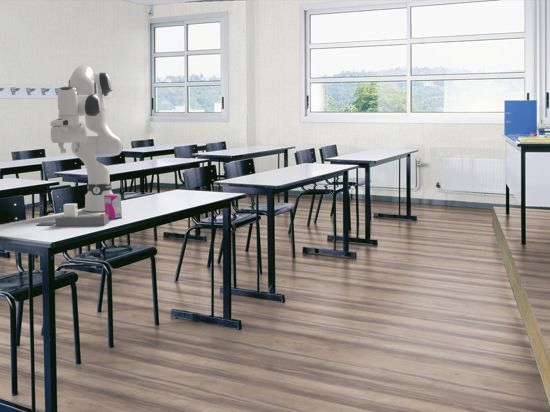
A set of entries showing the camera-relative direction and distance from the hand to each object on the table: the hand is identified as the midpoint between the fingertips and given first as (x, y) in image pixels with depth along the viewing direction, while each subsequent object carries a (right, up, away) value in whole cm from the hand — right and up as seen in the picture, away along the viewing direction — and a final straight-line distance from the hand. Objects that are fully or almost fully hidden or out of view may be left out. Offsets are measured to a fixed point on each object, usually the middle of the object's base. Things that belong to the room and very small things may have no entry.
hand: (70, 152), depth 301 cm
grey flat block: (+6, -32, +3) cm, 33 cm away
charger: (+1, -31, -1) cm, 31 cm away
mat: (-11, -33, +1) cm, 35 cm away
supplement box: (+16, -31, +17) cm, 38 cm away
